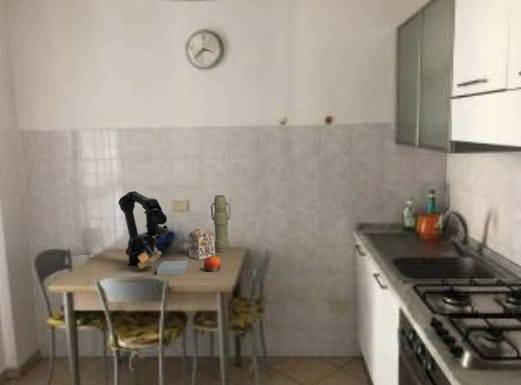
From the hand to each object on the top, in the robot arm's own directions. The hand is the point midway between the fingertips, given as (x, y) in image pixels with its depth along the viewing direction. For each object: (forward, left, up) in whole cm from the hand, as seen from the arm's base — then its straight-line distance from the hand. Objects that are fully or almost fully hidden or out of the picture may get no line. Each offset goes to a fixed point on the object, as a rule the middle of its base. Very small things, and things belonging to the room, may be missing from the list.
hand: (153, 250), depth 268 cm
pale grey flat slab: (+10, 0, -11) cm, 15 cm away
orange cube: (-5, 0, -5) cm, 7 cm away
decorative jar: (+23, +27, -12) cm, 37 cm away
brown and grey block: (-2, 0, -6) cm, 6 cm away
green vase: (+34, +40, -12) cm, 54 cm away
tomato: (+32, -2, -12) cm, 34 cm away
